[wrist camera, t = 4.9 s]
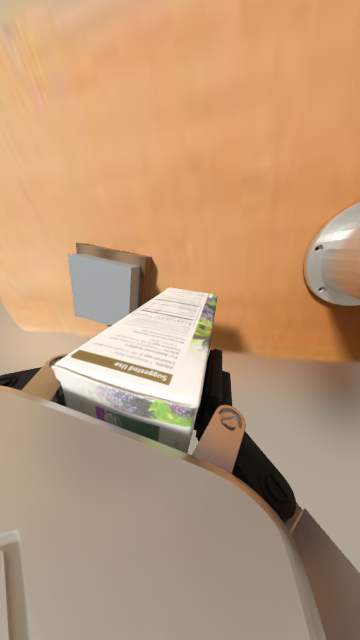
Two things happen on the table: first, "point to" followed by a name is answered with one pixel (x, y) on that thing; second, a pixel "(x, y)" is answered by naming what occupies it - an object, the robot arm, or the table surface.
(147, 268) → the tower base
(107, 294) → the tower top
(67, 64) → the table surface
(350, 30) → the table surface
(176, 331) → the syrup box
